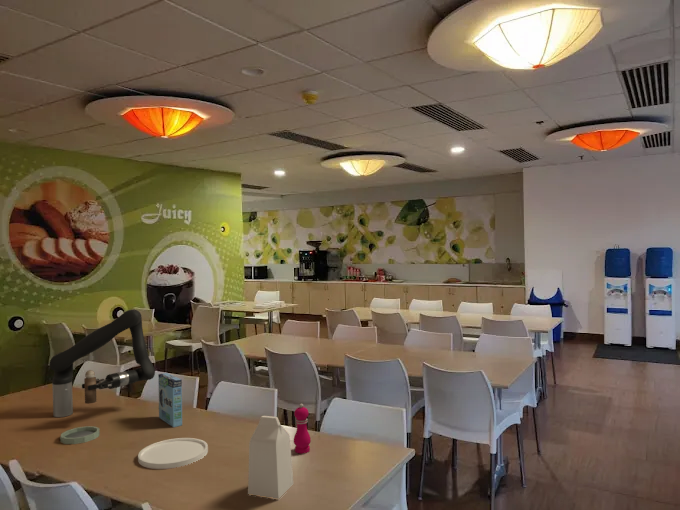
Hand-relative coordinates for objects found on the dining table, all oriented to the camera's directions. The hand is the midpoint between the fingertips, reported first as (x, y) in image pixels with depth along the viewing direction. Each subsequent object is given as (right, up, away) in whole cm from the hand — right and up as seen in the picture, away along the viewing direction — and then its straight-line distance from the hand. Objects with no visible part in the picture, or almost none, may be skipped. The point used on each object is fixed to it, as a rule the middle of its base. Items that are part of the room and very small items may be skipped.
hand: (85, 387), depth 253 cm
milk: (+102, -18, -73) cm, 127 cm away
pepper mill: (+111, -17, -38) cm, 118 cm away
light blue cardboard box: (+41, -19, +4) cm, 45 cm away
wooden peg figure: (+2, -8, +2) cm, 8 cm away
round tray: (+5, -20, -15) cm, 25 cm away
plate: (+57, -19, -38) cm, 71 cm away
